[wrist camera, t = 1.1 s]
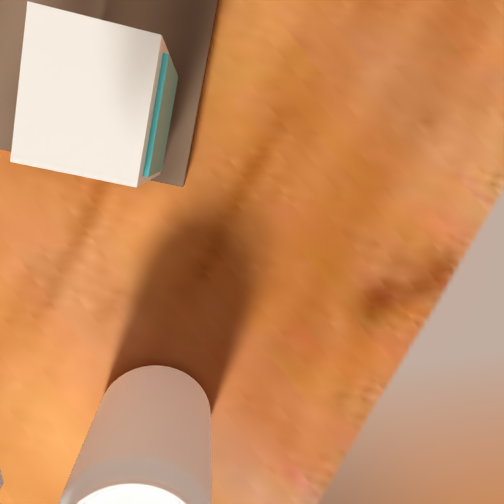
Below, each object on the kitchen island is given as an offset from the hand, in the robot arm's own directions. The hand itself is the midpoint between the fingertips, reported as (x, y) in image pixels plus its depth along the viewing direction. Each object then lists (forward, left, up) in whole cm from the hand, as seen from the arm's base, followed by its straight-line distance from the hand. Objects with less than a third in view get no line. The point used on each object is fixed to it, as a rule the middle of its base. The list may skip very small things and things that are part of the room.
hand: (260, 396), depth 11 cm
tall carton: (-7, +7, -19) cm, 22 cm away
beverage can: (-2, -14, -21) cm, 26 cm away
